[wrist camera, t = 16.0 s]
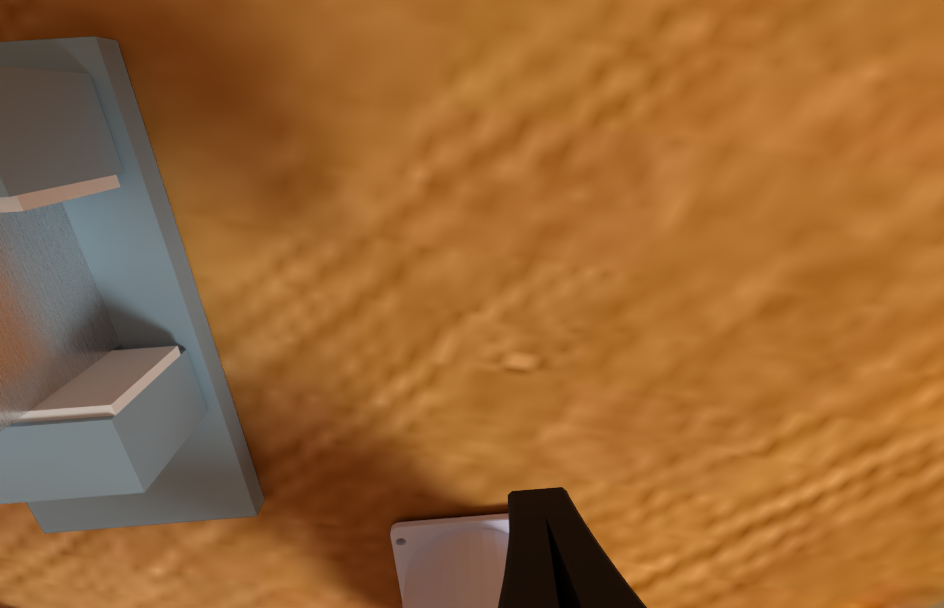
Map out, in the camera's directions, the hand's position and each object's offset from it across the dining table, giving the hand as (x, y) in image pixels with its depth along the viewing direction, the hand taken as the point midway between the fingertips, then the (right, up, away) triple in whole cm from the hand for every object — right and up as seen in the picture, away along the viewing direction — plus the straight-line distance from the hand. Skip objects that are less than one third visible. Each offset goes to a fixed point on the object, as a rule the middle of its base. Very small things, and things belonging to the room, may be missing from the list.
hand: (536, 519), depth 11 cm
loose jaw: (-17, +2, +7) cm, 19 cm away
